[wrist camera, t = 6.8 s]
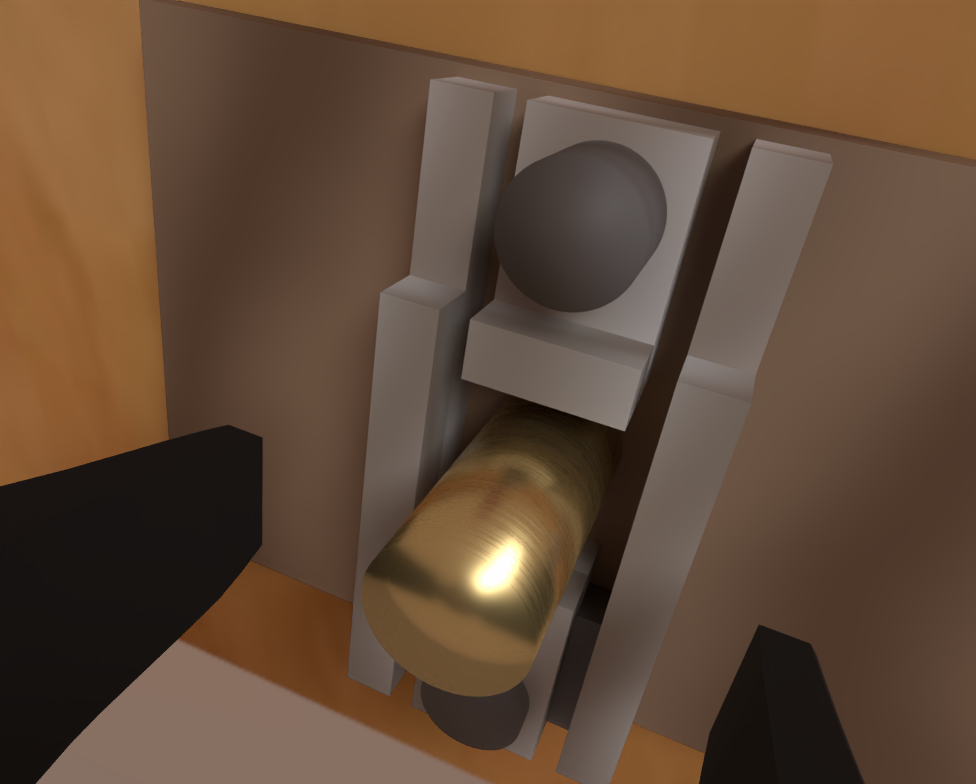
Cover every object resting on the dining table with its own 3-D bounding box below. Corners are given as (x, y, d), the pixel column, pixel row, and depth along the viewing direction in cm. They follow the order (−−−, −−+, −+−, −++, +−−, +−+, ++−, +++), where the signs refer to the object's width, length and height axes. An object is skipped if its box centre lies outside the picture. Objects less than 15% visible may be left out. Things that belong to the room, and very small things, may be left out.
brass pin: (645, 475, 13) (570, 680, 9) (535, 512, 14) (424, 709, 10) (580, 360, 13) (469, 520, 8) (473, 409, 14) (328, 569, 10)
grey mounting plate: (1347, 234, 9) (1604, 323, 6) (929, 806, 15) (961, 994, 12) (179, 0, 14) (9, -12, 11) (202, 507, 19) (95, 589, 17)
